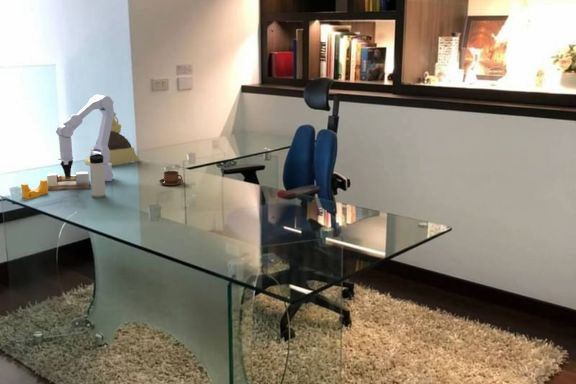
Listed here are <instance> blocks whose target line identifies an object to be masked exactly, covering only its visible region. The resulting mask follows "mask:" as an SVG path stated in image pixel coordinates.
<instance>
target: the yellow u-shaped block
mask: <svg viewBox="0 0 576 384" xmlns="http://www.w3.org/2000/svg"><path fill="white" fill-rule="evenodd" d="M20 187H21V196H22V197H21V198H22V199H27V200H28V199H34V198H37V197H41V195H45V194H49V191H48V185H47V180H46V179H41V180H40V181H39V185H38V187H37V188H35V189H33V190H32V189H31V188H30V187H29V184H28V183H21V184H20Z"/></svg>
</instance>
